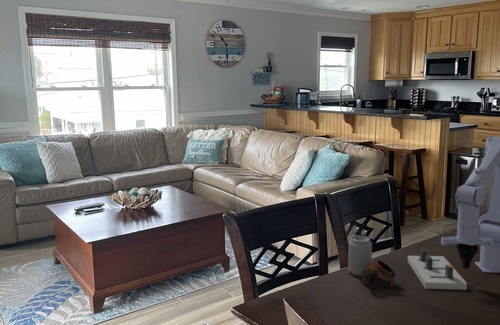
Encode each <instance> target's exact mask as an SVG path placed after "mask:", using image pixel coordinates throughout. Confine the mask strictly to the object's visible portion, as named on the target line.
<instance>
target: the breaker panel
mask: <svg viewBox="0 0 500 325" xmlns="http://www.w3.org/2000/svg"><path fill="white" fill-rule="evenodd" d="M407 262H408V264H409V266H410V267H411V268H412V270H413V272H414V274H415V275H416V277H417V278H418V279H419V281H420V283H421V284H422V286H423V287H424V289H425V290H426V289H427V290H428V289H430V290H433V289H434V290H459V291H461V290H463V291H464V290H466V291H467V289H468V283H467V282H466V280H465V279H464V278H463V277H462V275H461V274H460V273H459V272H458V271H457V270H456V269H455V268H454V267H453V278H448V277H447V276H446V275H445V268H446V265H447V264H450V265H451V266H452V264H451V263H450V262H449V261H448V260H447V258H445V256H442V255H440V256H439V255H437V256H436V255H427V250H426V249H425V248H419V255H407Z"/></svg>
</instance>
